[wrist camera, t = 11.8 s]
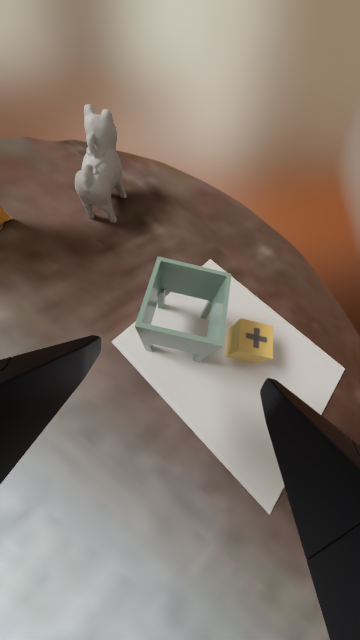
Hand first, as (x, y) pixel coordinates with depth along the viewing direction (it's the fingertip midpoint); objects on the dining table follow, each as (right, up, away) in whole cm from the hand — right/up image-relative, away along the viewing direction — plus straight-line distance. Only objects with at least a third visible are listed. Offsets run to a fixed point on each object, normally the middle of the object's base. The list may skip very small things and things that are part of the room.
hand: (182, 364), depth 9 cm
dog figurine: (-13, +24, +23) cm, 36 cm away
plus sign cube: (+8, -1, +14) cm, 17 cm away
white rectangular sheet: (+7, -3, +14) cm, 16 cm away
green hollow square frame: (0, +1, +14) cm, 14 cm away
